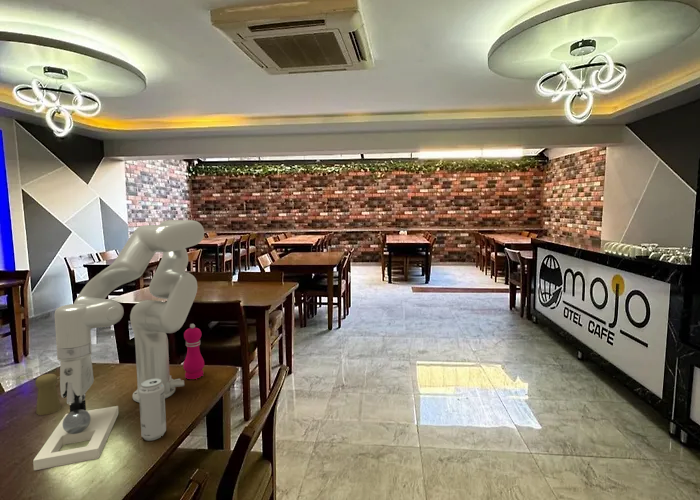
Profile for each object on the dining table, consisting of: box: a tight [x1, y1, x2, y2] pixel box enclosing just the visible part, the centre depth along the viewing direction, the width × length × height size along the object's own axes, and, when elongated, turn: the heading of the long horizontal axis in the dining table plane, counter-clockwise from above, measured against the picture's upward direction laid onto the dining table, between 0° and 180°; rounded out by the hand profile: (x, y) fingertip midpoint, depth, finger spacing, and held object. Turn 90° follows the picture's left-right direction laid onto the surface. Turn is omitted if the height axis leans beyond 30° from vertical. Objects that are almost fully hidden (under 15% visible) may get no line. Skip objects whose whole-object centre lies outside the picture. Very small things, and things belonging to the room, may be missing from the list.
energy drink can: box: [138, 378, 167, 442], centre depth 102 cm, size 6×6×15 cm
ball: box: [63, 409, 91, 434], centre depth 99 cm, size 6×6×6 cm
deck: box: [32, 405, 119, 471], centre depth 101 cm, size 13×22×2 cm, turn 21°
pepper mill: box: [182, 323, 205, 380], centre depth 138 cm, size 7×7×20 cm
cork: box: [34, 373, 62, 416], centre depth 115 cm, size 6×6×11 cm
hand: (78, 416), depth 103 cm, fingers closed
